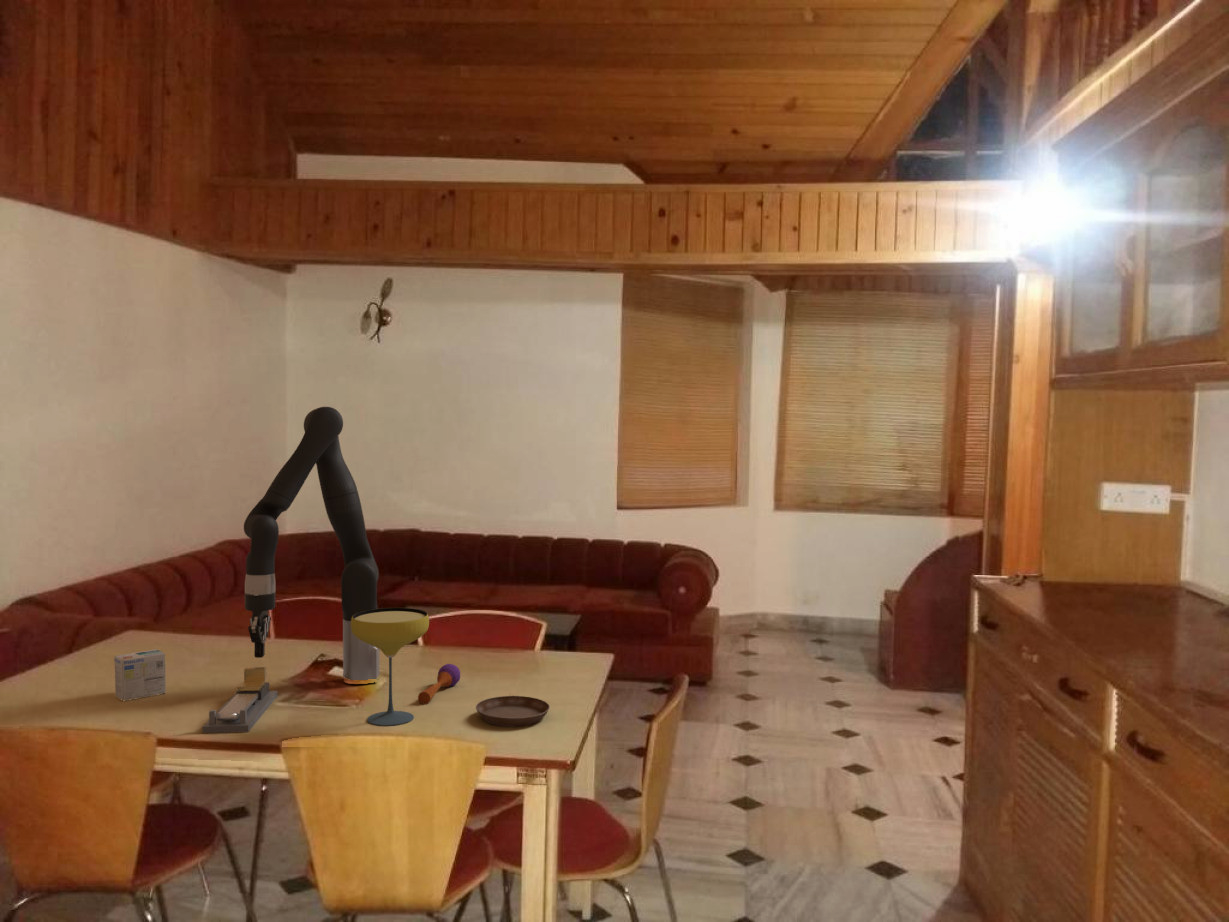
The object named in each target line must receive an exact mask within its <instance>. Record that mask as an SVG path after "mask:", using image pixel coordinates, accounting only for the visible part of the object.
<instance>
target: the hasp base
mask: <svg viewBox="0 0 1229 922" xmlns="http://www.w3.org/2000/svg"><path fill="white" fill-rule="evenodd" d="M237 694H258V698H257V699H256V700H255V702H254V703H253V704H252V705H251V706H250V707H249V708H248V709H241V710H240V717H239V718H238V720H222V721H217V714H218V713H219V712H220V711H221V710H222V709H223V708H224V707H225V706H226V705H227V704H228V703H229V702H230V701H231V700H232V699H233V698H234V697H235V696H236V695H237ZM277 698H278V690H270V682H266V681H265V685H264V686H263V687H262V688H261V689H260V690H258V691H238V690H237V691H235V693H234V694H232V696H231V697H230V698H229V699H228V700H227V701H226V702H225V703H224V704H223V705H222V706H221V707H220V708H219V709H218V710H216V709H210V710H209V711H208V720H207V721H206V722H205V723H204V724H203V726H202V734H215V733H216V734H218V733H219V734H220V733H223V734H224V733H248V732H249V731H251V729H252V728H253V727H254V725H256V723H257V722H258V721H259V720H260V718H261V717H262V716H263V715H264V714H265V713H266V711H267V710H268V709H269V708H270V706H271V705H272V704H273V702H275V700H276V699H277Z"/></svg>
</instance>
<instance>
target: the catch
mask: <svg viewBox="0 0 1229 922" xmlns="http://www.w3.org/2000/svg"><path fill="white" fill-rule="evenodd" d="M266 679H267V667H266V666H264V667H262V666H261V667H259V666H257V667H256V666H253V667H251V666H250V667H245V668H244V669H243V681H242V683H241V684H239V686H238V687H237V688H238V689H237V691H258V690H260V689H261V688H262V687H263V686H264V685H265V682H266Z"/></svg>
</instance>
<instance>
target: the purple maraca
mask: <svg viewBox="0 0 1229 922" xmlns="http://www.w3.org/2000/svg"><path fill="white" fill-rule="evenodd" d="M460 679H461V671H460V668H459V667H458V666H457V665H456V664H453V663H452V664H451V663H447V664H444V665H442V667H440V668H439V670H438V673H437V677H436V683H434V684H433V685H431V686H429V687H428V688H426V689H424V690H422V691H421V692H419V694H418V696H417V700H418V702H419V703H420V704H426V705H428V704H429V703H430V702H431V701H432V699H433V698H434V696H436V694H437V693H438V691H439V689H440V688H441V687H443V688H448V687H455V685H457V684H458V683H459V682H460Z"/></svg>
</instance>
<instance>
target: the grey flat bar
mask: <svg viewBox="0 0 1229 922" xmlns="http://www.w3.org/2000/svg"><path fill="white" fill-rule="evenodd" d="M257 698H258V694H237V695H236V696H235V697H234V698H233V699H232V700H231V701H230V702H229V703H228V704H227V705H226V706H225V707H224V708H223V709H222V710H221V711H220V712H219V713H218V714H217V721H222V720H238V718H239V717H240V710H241V709H248V708H249V707H250V706H251V705H252V704H253V703H254V702H255V700H256V699H257Z"/></svg>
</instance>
